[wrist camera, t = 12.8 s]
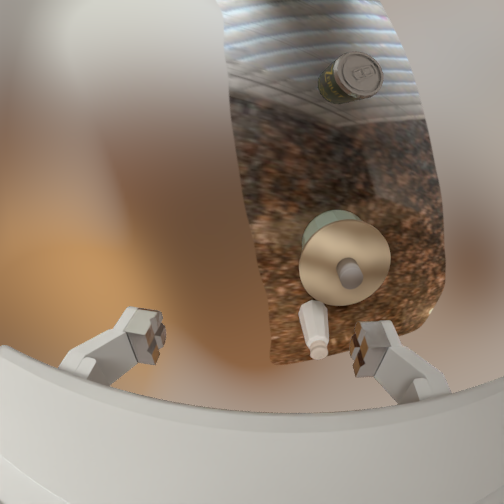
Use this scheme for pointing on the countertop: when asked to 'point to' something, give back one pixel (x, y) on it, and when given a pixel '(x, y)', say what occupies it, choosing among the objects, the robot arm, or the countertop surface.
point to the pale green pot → (326, 222)
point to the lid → (344, 262)
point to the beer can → (351, 78)
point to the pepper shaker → (315, 328)
